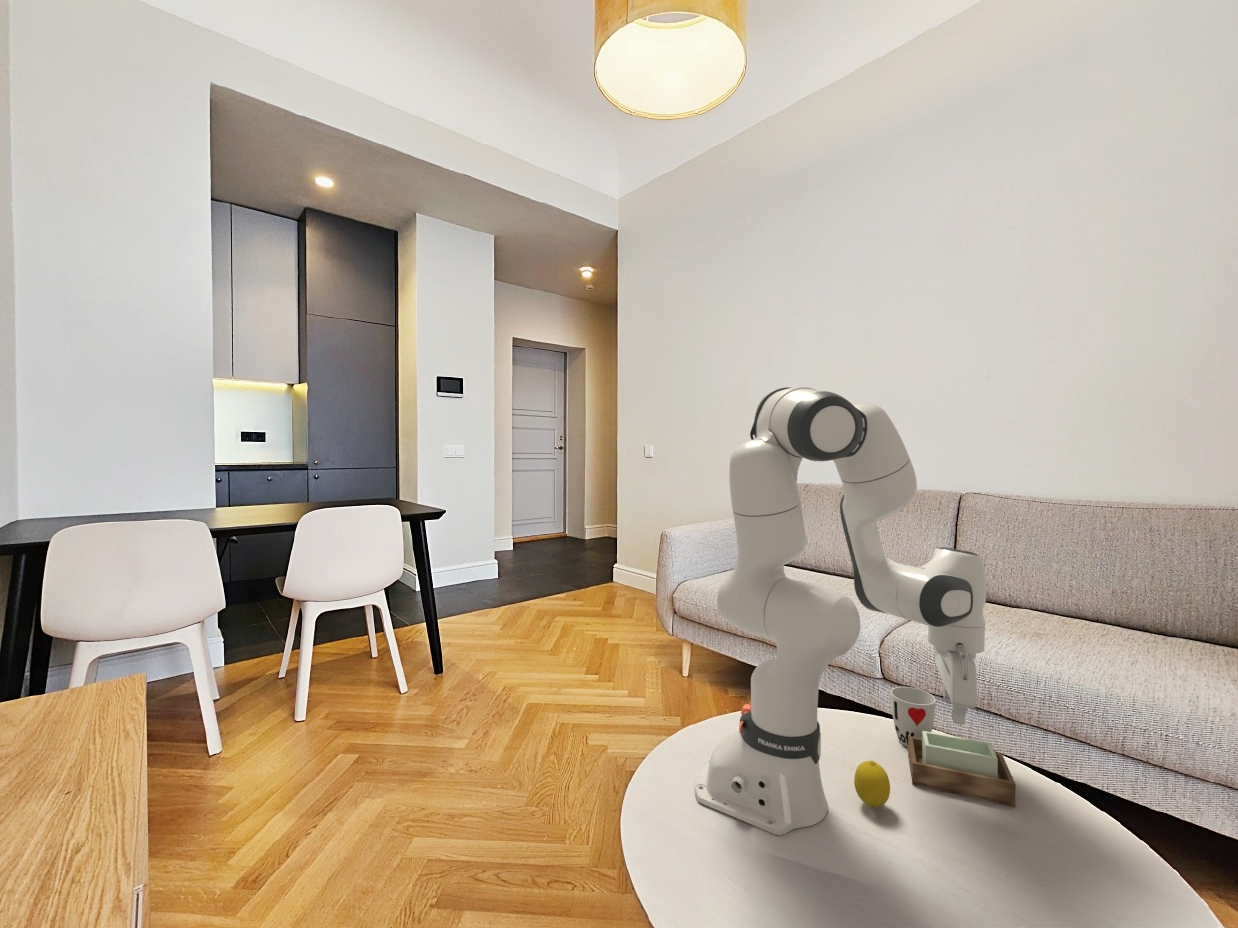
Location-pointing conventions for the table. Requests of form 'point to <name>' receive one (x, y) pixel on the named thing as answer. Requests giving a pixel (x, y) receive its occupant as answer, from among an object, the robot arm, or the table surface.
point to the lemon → (872, 784)
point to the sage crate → (959, 754)
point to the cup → (912, 712)
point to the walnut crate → (961, 778)
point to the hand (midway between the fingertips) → (953, 711)
